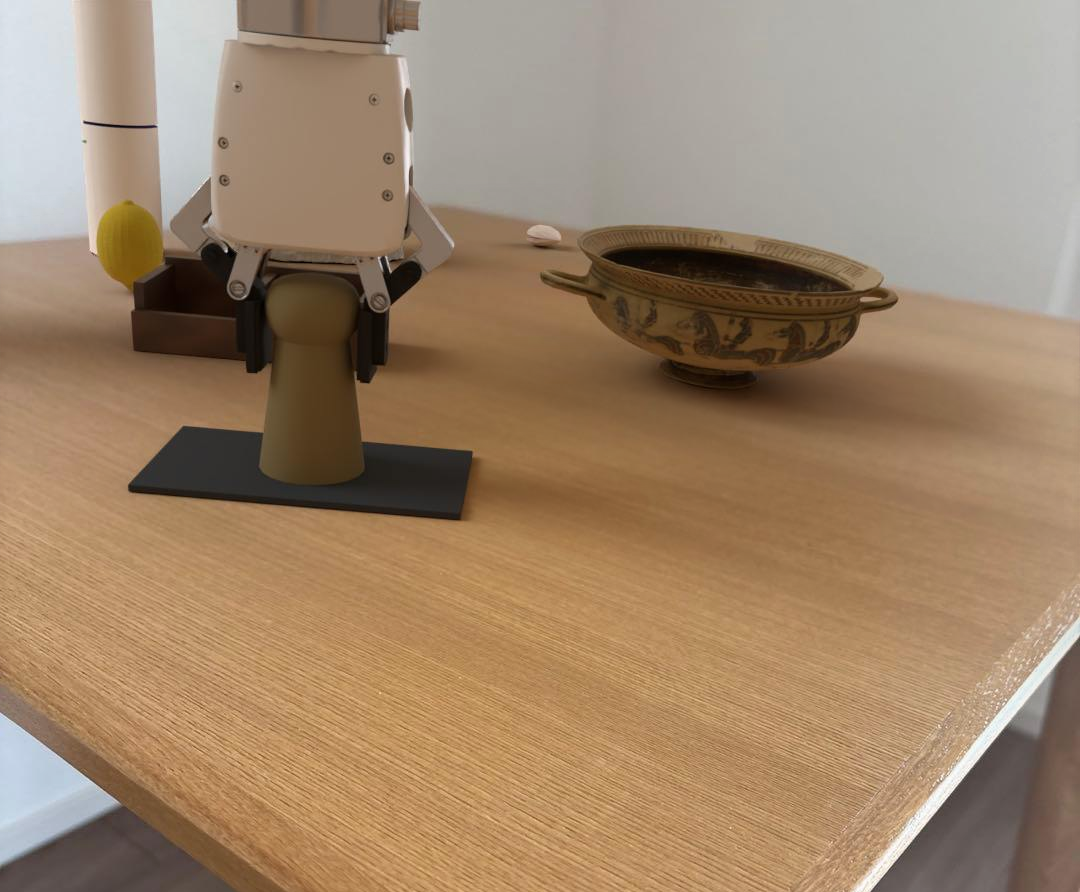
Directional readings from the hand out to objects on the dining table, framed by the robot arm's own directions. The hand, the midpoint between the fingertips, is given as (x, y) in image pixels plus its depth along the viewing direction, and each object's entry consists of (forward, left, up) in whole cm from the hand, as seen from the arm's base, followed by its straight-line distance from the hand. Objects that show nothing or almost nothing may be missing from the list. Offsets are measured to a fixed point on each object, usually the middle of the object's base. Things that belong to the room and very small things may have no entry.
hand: (313, 368), depth 63 cm
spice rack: (-9, +26, -6) cm, 28 cm away
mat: (0, 0, -6) cm, 6 cm away
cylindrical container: (-30, +56, -6) cm, 64 cm away
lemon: (-24, +40, -6) cm, 47 cm away
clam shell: (+13, +82, -6) cm, 83 cm away
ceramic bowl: (+27, +29, -6) cm, 40 cm away
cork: (0, 0, -6) cm, 6 cm away
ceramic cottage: (-12, +65, -6) cm, 66 cm away
